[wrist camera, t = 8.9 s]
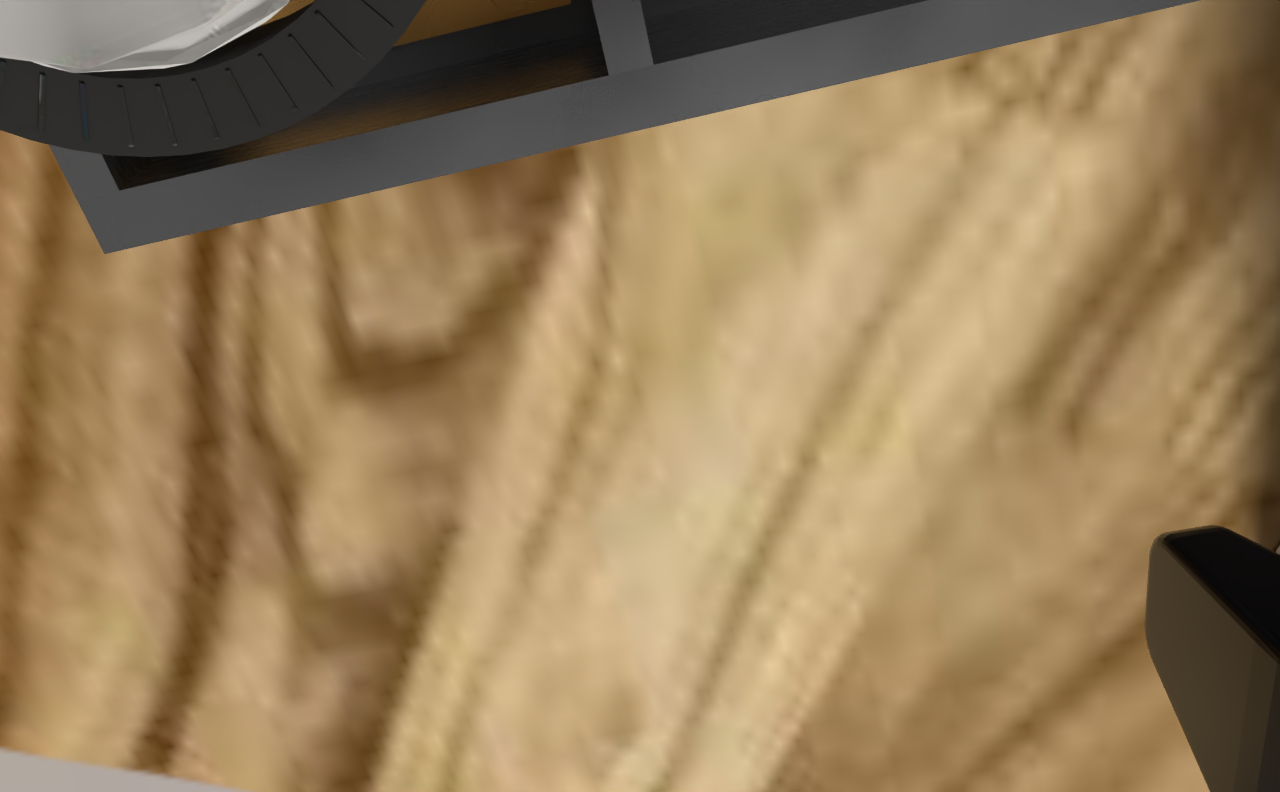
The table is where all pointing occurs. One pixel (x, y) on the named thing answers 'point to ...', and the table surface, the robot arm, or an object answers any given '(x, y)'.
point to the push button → (181, 68)
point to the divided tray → (545, 93)
